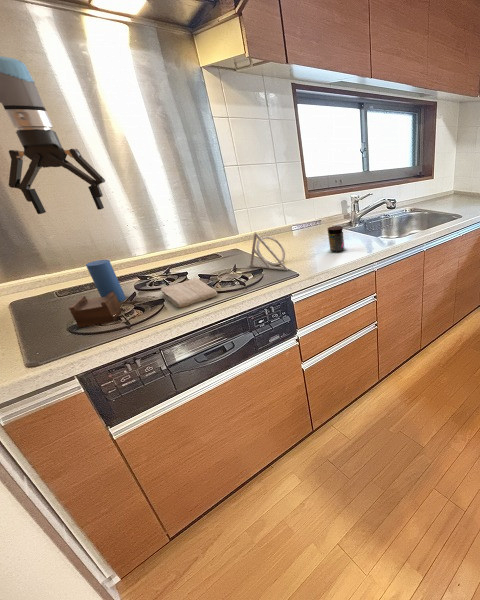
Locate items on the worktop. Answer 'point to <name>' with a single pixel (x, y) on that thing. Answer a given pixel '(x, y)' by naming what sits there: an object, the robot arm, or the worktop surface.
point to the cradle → (95, 310)
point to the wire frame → (269, 251)
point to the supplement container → (336, 239)
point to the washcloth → (188, 292)
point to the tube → (105, 278)
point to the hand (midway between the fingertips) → (72, 211)
